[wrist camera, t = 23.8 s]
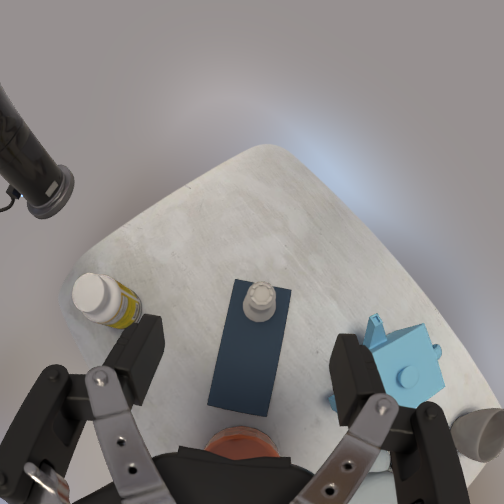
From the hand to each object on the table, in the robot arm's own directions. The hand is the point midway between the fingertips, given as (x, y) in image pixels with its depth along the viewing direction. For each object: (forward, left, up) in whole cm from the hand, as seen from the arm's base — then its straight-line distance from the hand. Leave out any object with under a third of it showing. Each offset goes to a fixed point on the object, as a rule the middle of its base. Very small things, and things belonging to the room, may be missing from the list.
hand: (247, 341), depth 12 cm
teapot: (+18, -1, -27) cm, 32 cm away
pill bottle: (-19, +2, -27) cm, 33 cm away
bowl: (+2, -15, -27) cm, 31 cm away
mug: (+40, -11, -27) cm, 50 cm away
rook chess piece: (0, +6, -26) cm, 27 cm away
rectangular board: (0, +1, -27) cm, 27 cm away
